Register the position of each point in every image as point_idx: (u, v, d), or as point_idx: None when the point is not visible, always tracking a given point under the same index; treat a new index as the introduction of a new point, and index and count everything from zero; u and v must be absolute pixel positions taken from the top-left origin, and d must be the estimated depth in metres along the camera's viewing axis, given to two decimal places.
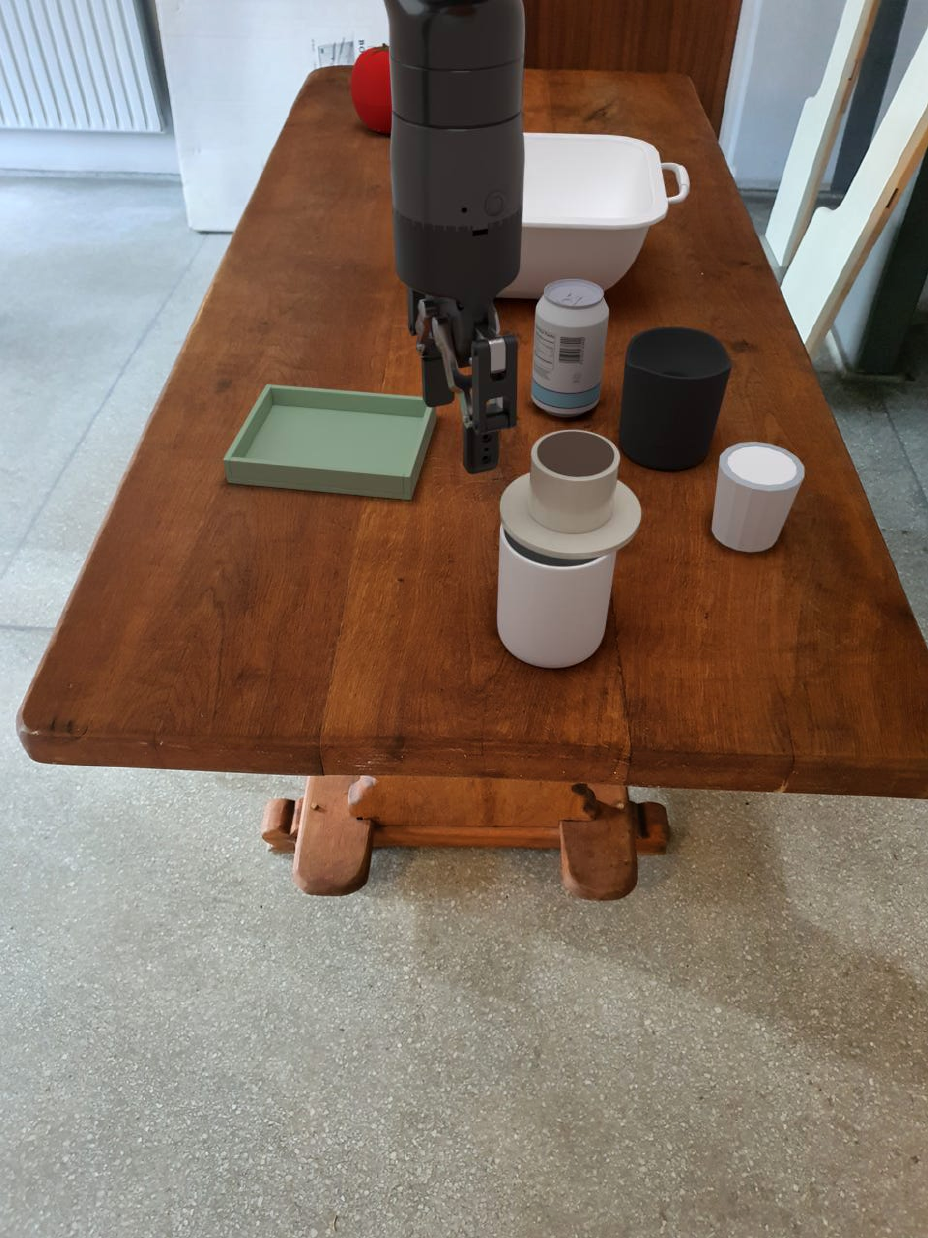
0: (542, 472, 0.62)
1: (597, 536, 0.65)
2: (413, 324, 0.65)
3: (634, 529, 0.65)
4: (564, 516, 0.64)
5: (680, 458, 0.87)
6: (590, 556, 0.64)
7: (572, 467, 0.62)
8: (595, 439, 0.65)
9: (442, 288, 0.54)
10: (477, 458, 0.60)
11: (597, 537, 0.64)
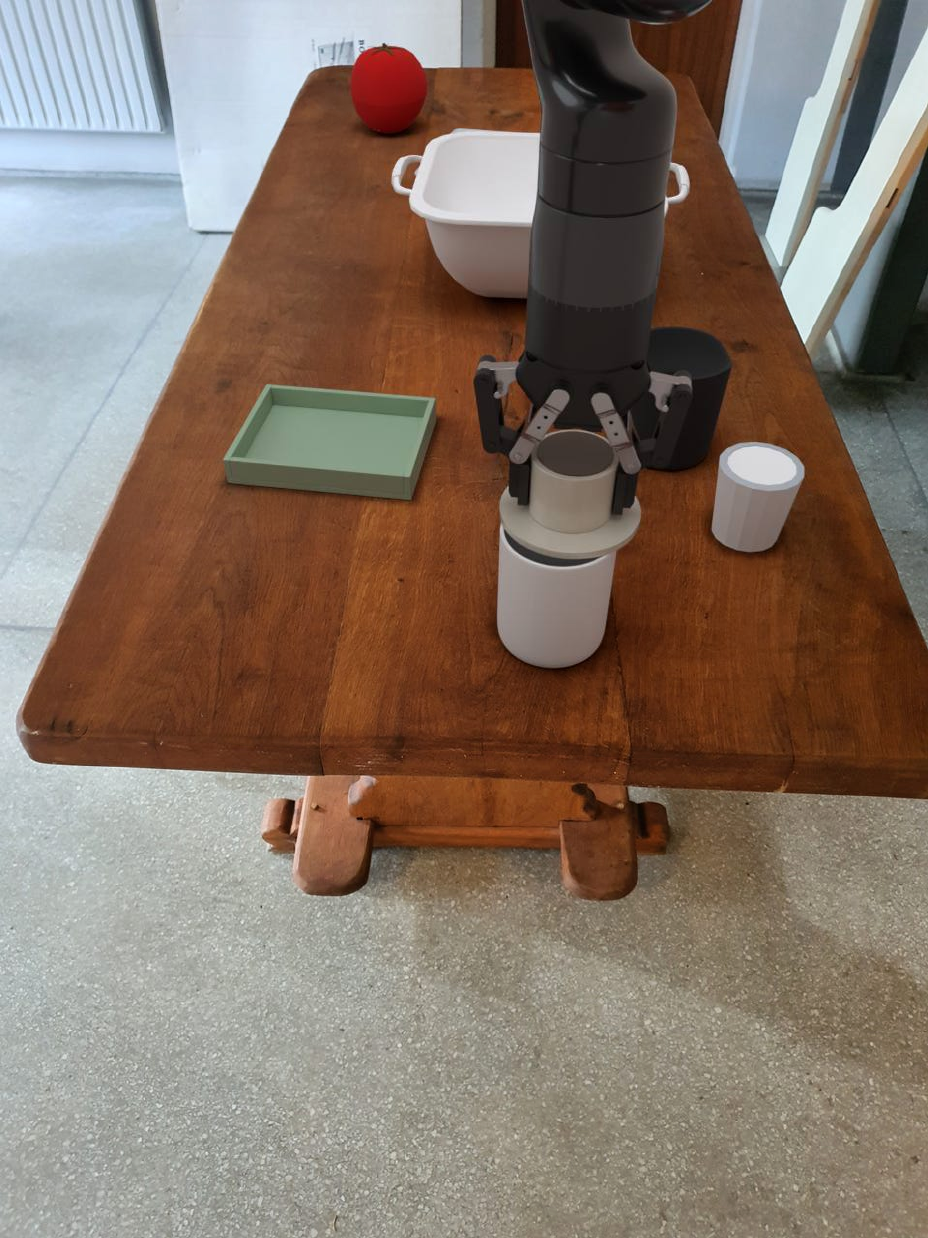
0: (542, 471, 0.62)
1: (597, 536, 0.65)
2: (500, 440, 0.62)
3: (634, 529, 0.65)
4: (564, 515, 0.64)
5: (680, 458, 0.87)
6: (590, 556, 0.64)
7: (572, 467, 0.62)
8: (594, 439, 0.65)
9: (638, 355, 0.56)
10: None
11: (596, 537, 0.64)
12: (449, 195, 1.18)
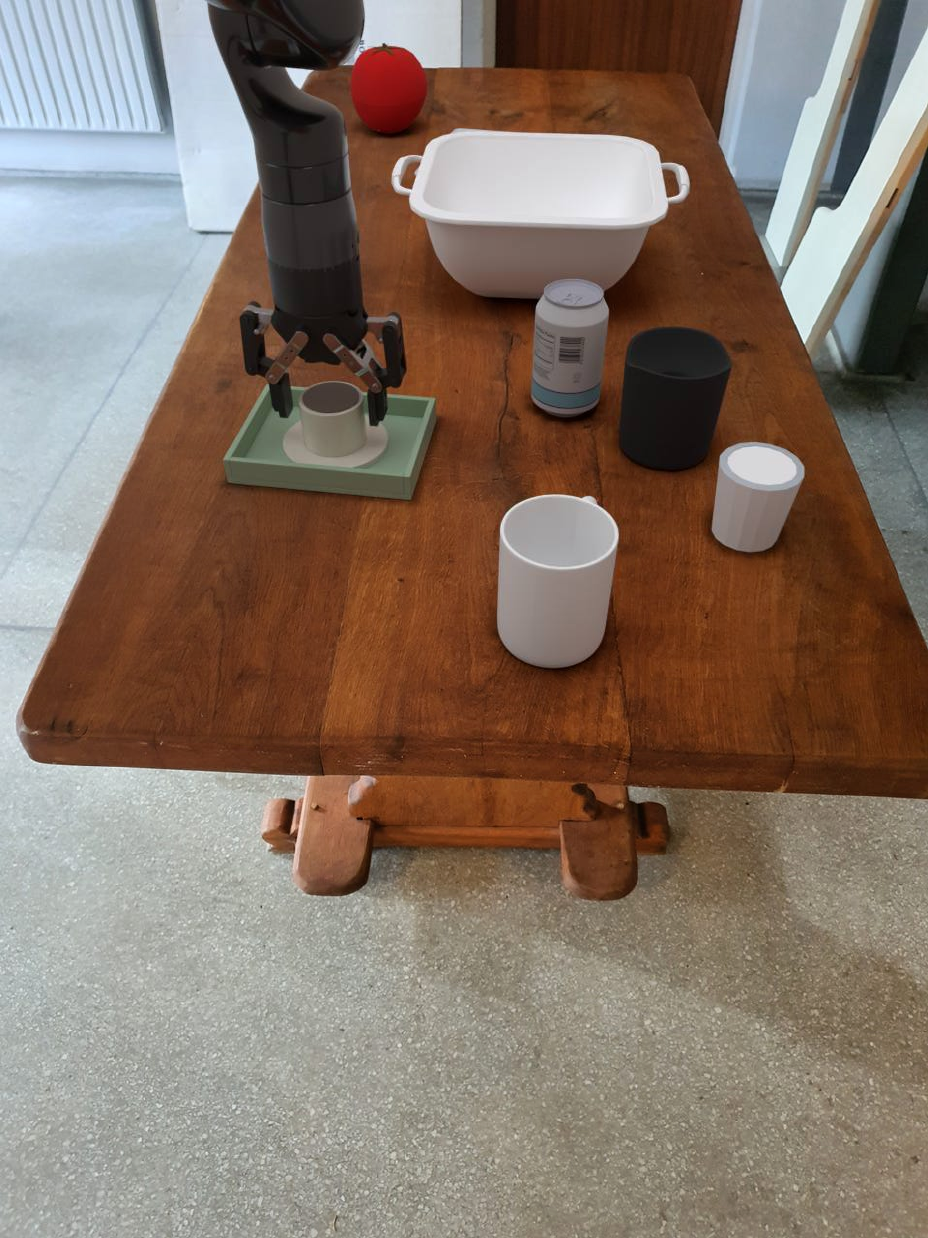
0: (303, 410, 0.85)
1: (349, 459, 0.87)
2: (257, 365, 0.84)
3: (378, 454, 0.88)
4: (322, 443, 0.87)
5: (680, 458, 0.87)
6: None
7: (324, 406, 0.85)
8: (348, 387, 0.88)
9: (347, 305, 0.78)
10: (384, 410, 0.86)
11: (348, 459, 0.87)
12: (449, 195, 1.18)
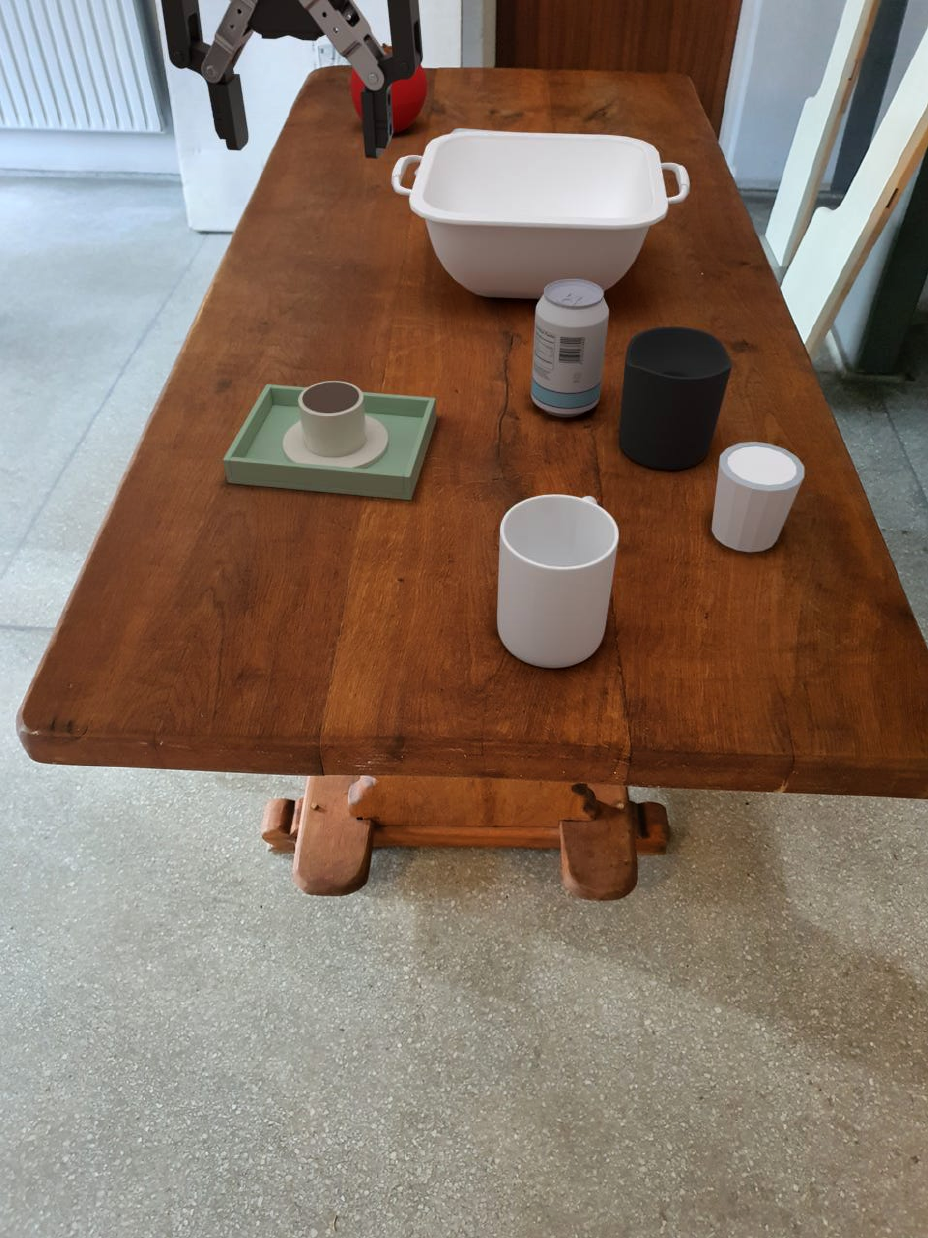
0: (303, 410, 0.85)
1: (349, 459, 0.87)
2: (187, 47, 0.53)
3: (378, 454, 0.88)
4: (322, 443, 0.87)
5: (680, 458, 0.87)
6: None
7: (324, 406, 0.85)
8: (348, 387, 0.88)
9: None
10: (388, 128, 0.55)
11: (348, 459, 0.87)
12: (449, 195, 1.18)
